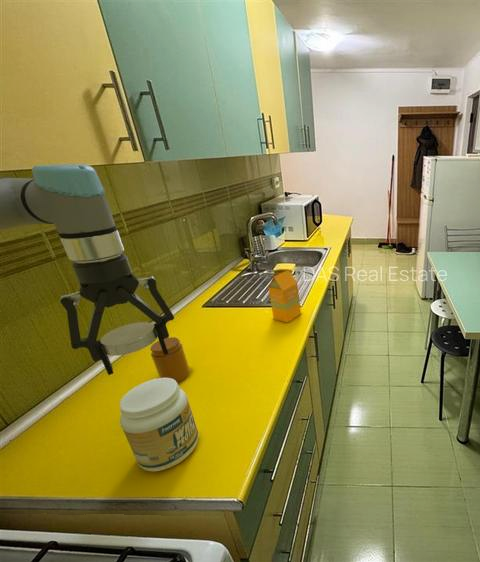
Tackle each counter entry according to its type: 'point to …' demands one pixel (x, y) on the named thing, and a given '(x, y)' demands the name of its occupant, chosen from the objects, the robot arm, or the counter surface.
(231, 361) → the counter surface
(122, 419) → the supplement tub
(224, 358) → the counter surface
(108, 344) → the lid
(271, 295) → the orange juice
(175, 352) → the jar
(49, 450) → the counter surface
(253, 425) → the counter surface
